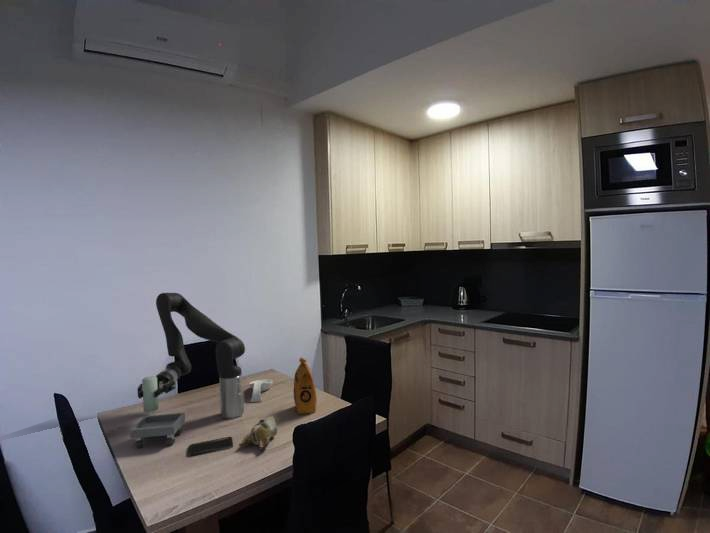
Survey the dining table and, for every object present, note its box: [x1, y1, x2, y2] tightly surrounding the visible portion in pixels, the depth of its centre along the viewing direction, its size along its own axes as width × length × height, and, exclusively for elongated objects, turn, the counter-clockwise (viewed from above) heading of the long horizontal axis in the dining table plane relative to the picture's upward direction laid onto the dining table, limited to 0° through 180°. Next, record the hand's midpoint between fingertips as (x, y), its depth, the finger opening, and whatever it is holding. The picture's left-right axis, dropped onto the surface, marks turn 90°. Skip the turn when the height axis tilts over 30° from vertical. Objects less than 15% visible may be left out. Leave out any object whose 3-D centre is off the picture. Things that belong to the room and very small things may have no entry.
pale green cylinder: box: [141, 375, 159, 413], centre depth 142 cm, size 5×5×12 cm
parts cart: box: [129, 412, 186, 449], centre depth 141 cm, size 15×12×8 cm
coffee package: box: [293, 357, 318, 415], centre depth 166 cm, size 10×12×22 cm
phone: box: [187, 436, 234, 457], centre depth 135 cm, size 8×1×15 cm
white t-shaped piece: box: [249, 379, 273, 403], centre depth 187 cm, size 24×12×7 cm, turn 8°
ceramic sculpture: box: [238, 415, 278, 450], centre depth 137 cm, size 11×9×15 cm
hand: (147, 395), depth 140 cm, fingers closed on pale green cylinder, 5 cm apart
